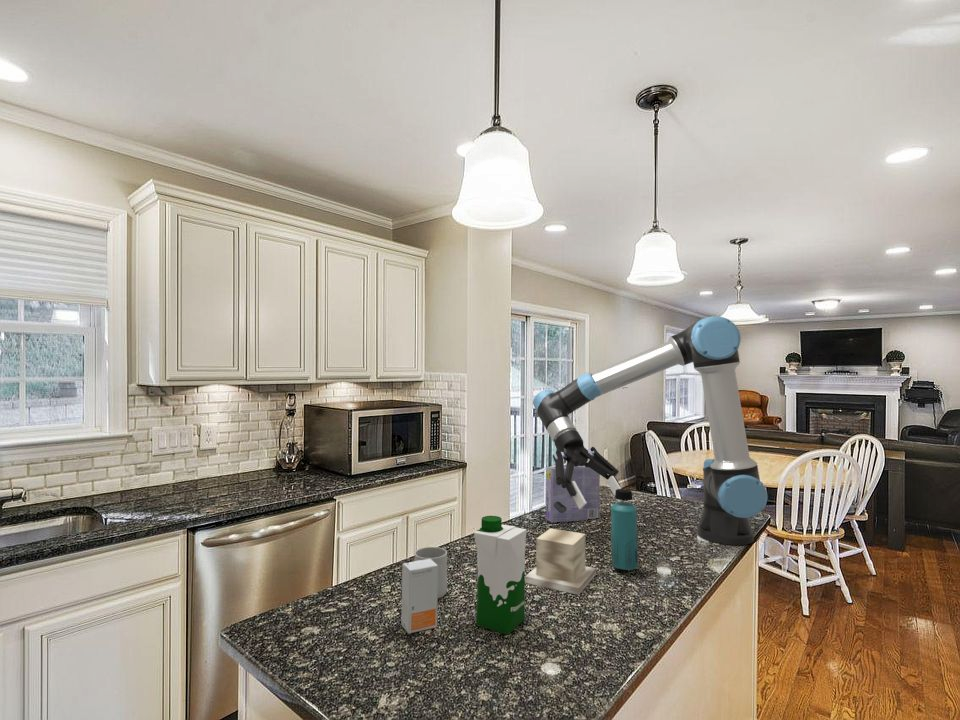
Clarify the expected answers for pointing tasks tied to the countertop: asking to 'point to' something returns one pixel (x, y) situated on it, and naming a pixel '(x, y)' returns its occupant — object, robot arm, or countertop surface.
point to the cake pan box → (564, 505)
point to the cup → (440, 559)
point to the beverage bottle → (624, 532)
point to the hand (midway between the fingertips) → (603, 502)
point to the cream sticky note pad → (561, 562)
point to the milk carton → (500, 575)
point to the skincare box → (419, 595)
